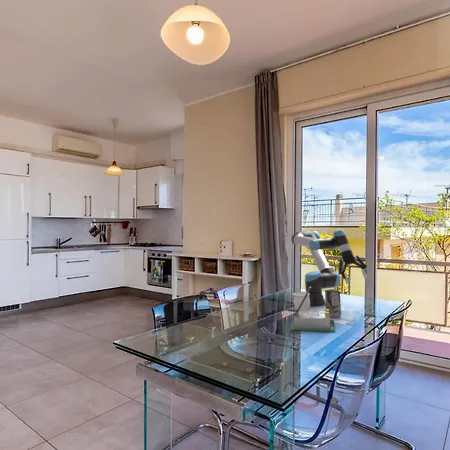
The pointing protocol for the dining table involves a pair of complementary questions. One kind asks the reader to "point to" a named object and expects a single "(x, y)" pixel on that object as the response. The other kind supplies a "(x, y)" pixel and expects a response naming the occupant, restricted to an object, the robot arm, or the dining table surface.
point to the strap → (303, 299)
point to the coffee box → (333, 302)
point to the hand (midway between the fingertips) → (357, 281)
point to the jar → (298, 299)
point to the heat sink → (312, 321)
